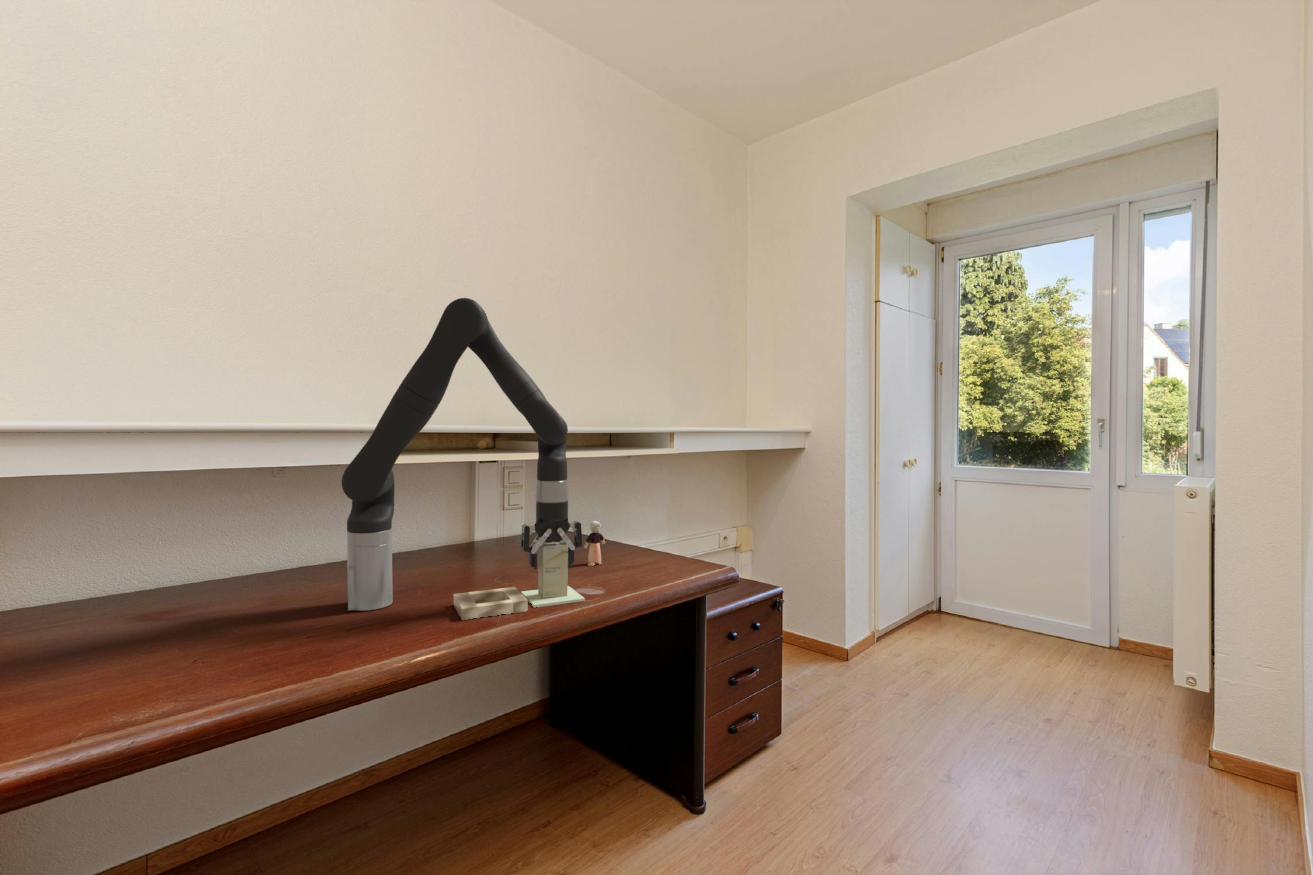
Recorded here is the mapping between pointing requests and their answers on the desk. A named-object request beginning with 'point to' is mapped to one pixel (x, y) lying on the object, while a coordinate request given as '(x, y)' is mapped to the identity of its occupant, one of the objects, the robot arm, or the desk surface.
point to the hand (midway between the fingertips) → (551, 566)
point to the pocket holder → (490, 603)
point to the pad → (552, 598)
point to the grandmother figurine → (594, 544)
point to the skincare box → (553, 570)
